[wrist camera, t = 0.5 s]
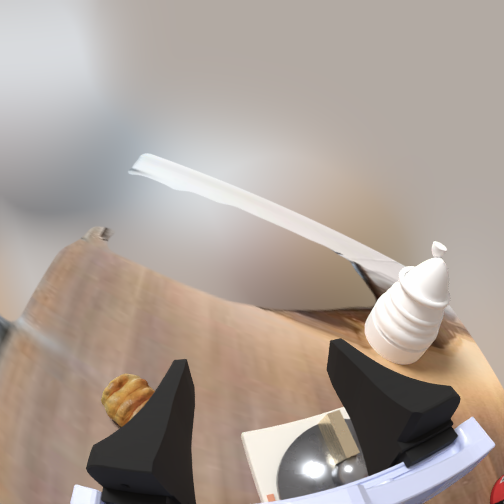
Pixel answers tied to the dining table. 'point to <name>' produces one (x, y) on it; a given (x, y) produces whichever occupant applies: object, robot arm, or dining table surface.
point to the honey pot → (410, 311)
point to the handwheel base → (274, 451)
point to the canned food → (498, 492)
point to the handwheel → (321, 459)
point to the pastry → (125, 397)
